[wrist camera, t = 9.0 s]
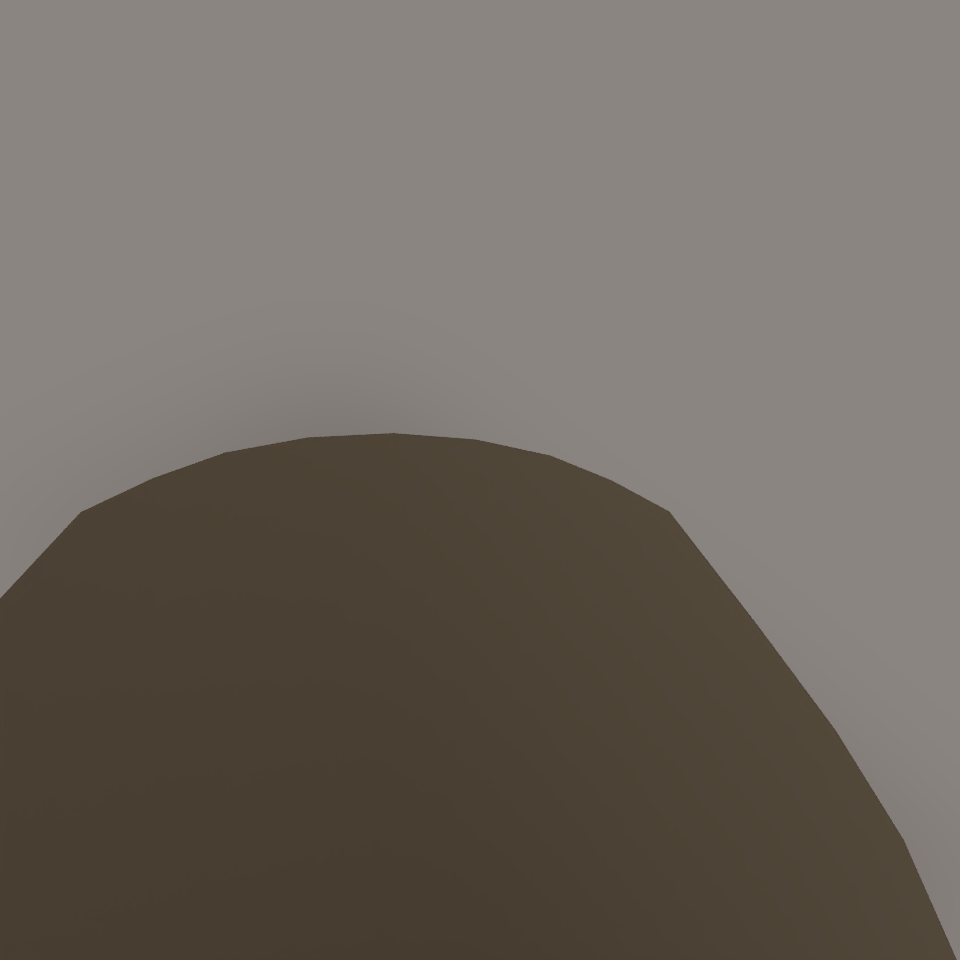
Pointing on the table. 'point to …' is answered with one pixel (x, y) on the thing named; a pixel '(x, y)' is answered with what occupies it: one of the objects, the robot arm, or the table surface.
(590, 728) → the tan tapered grip
